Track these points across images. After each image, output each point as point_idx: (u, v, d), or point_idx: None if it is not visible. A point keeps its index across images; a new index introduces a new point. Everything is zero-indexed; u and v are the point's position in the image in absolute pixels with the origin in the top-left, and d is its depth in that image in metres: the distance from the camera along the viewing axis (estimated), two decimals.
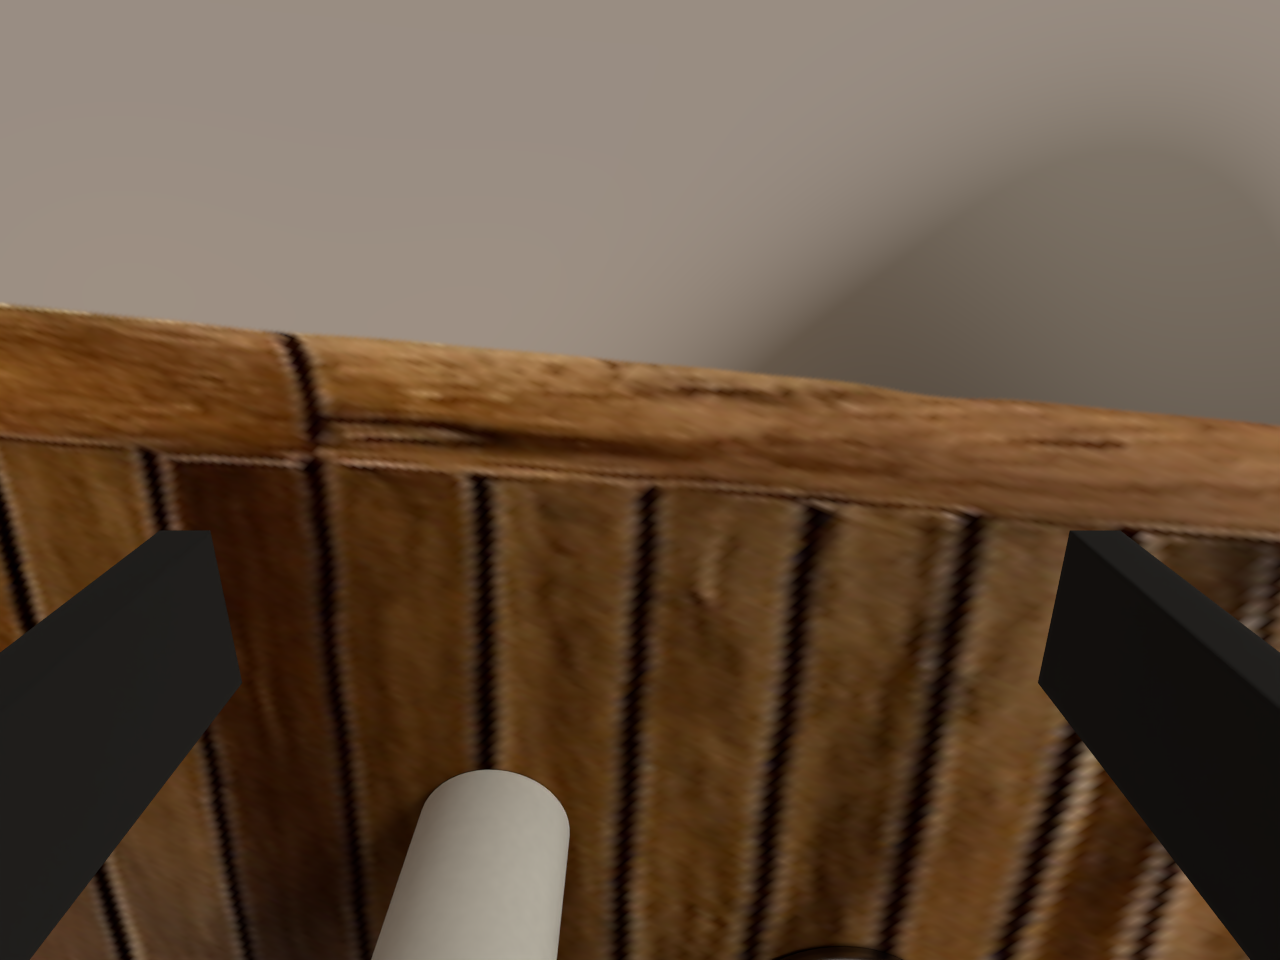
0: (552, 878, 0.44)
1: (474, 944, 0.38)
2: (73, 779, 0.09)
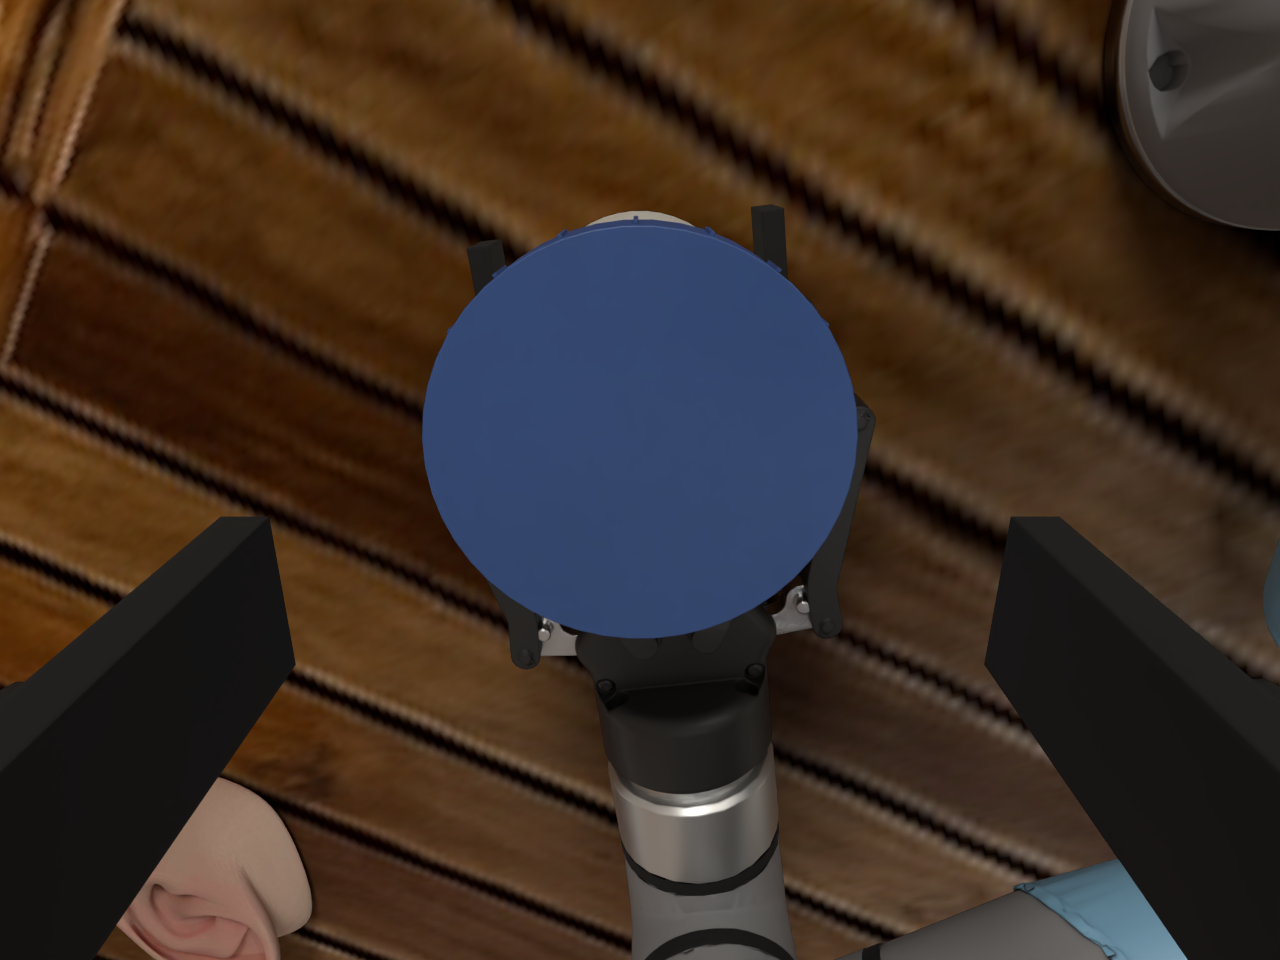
0: None
1: None
2: (157, 749, 0.10)
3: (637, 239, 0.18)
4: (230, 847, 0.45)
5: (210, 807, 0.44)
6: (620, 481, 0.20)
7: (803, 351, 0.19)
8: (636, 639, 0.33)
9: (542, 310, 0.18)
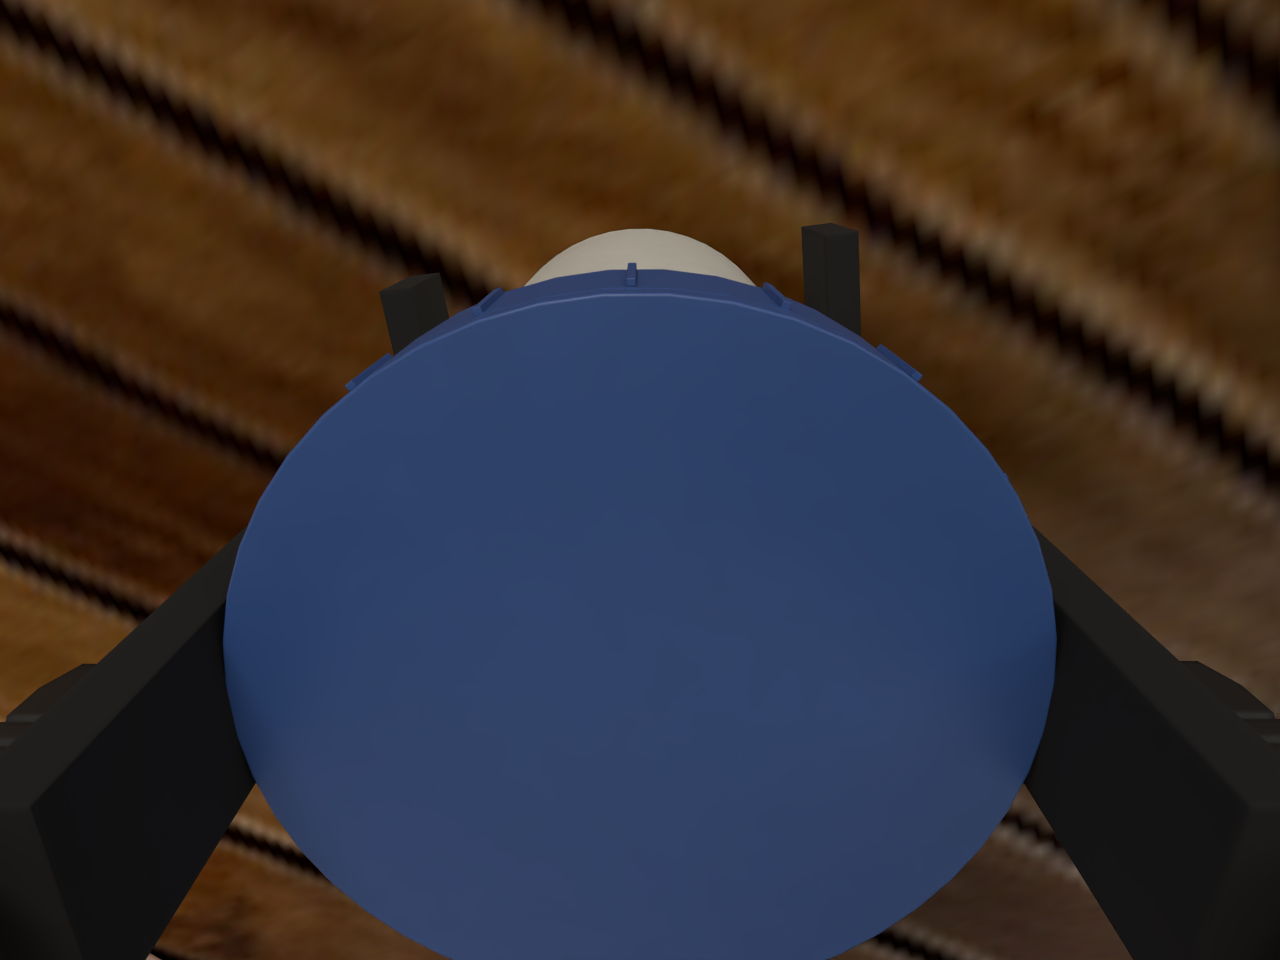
0: (647, 245, 0.20)
1: None
2: (219, 728, 0.10)
3: (634, 321, 0.09)
4: None
5: None
6: (603, 758, 0.11)
7: (963, 535, 0.09)
8: None
9: (443, 458, 0.09)
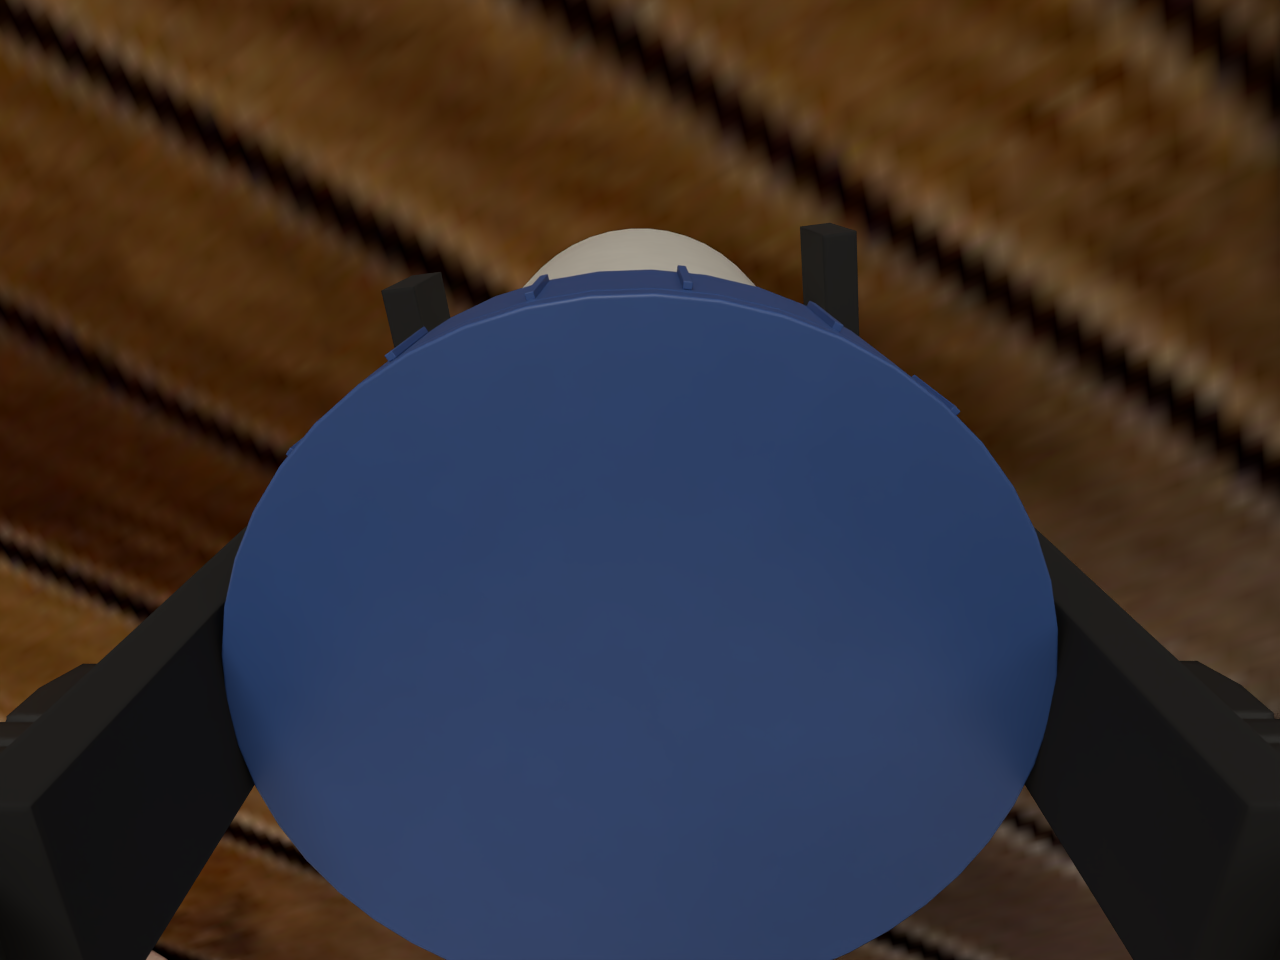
0: (647, 245, 0.20)
1: None
2: (219, 728, 0.10)
3: (252, 593, 0.10)
4: None
5: None
6: (681, 757, 0.11)
7: (551, 373, 0.09)
8: None
9: (337, 765, 0.11)
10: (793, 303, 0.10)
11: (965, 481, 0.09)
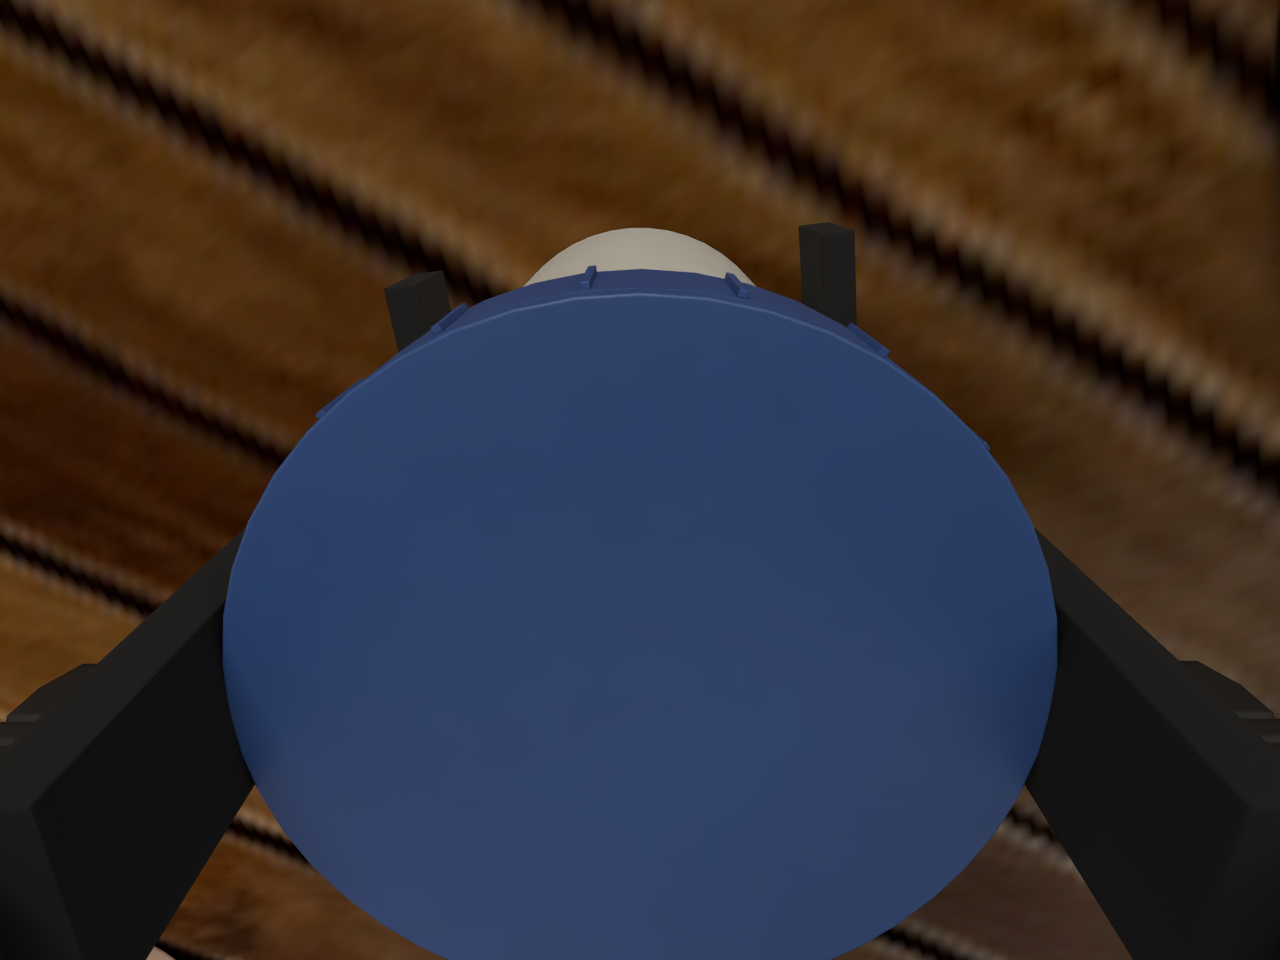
0: (648, 244, 0.20)
1: None
2: (220, 728, 0.10)
3: (413, 925, 0.12)
4: None
5: None
6: (708, 694, 0.10)
7: (281, 666, 0.10)
8: None
9: (597, 940, 0.12)
10: None
11: (488, 357, 0.09)
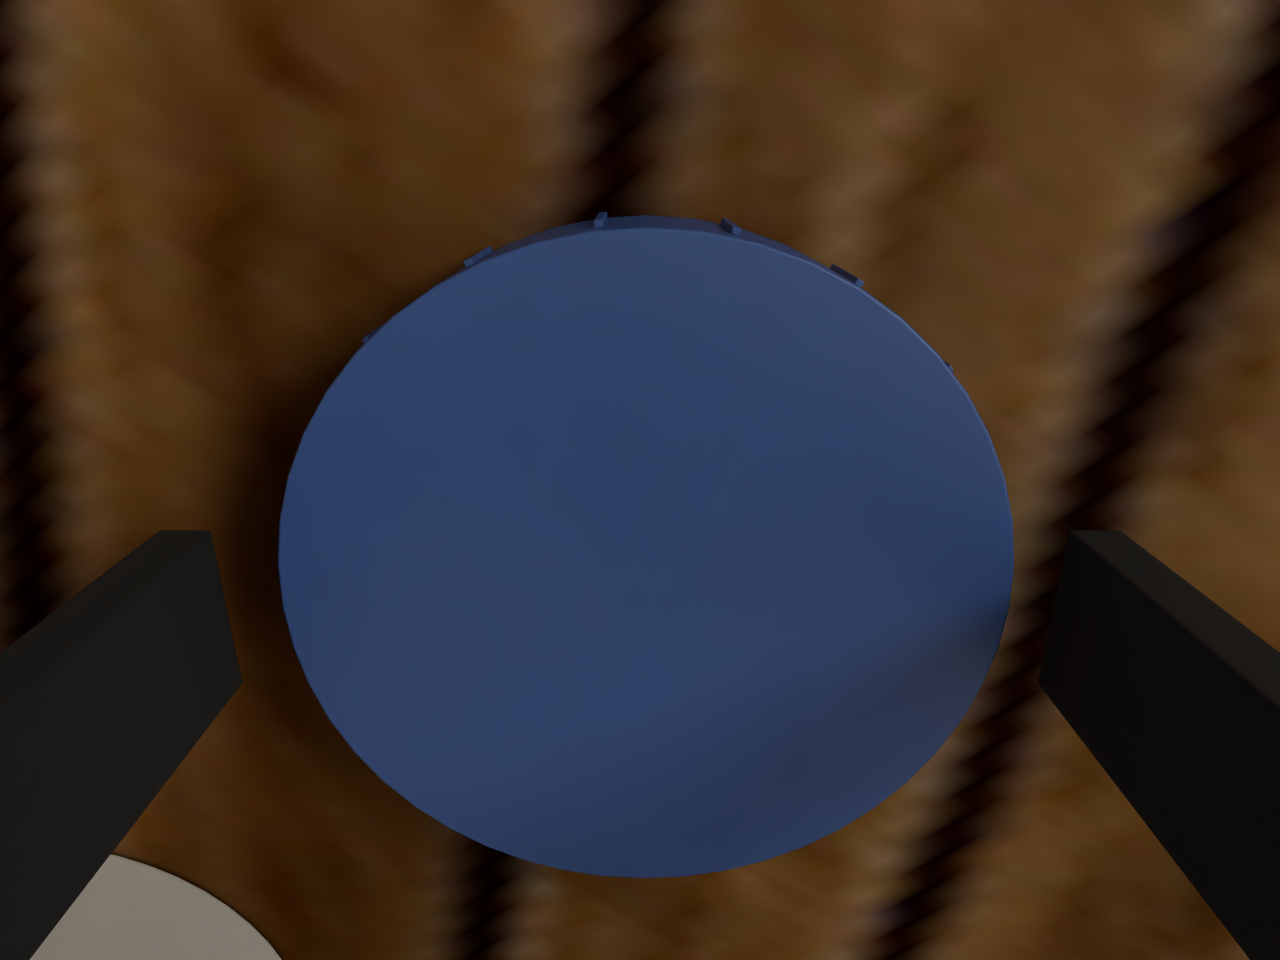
0: None
1: None
2: (73, 779, 0.09)
3: (443, 807, 0.13)
4: None
5: None
6: (706, 591, 0.12)
7: (330, 565, 0.11)
8: None
9: (606, 822, 0.13)
10: None
11: (514, 284, 0.10)
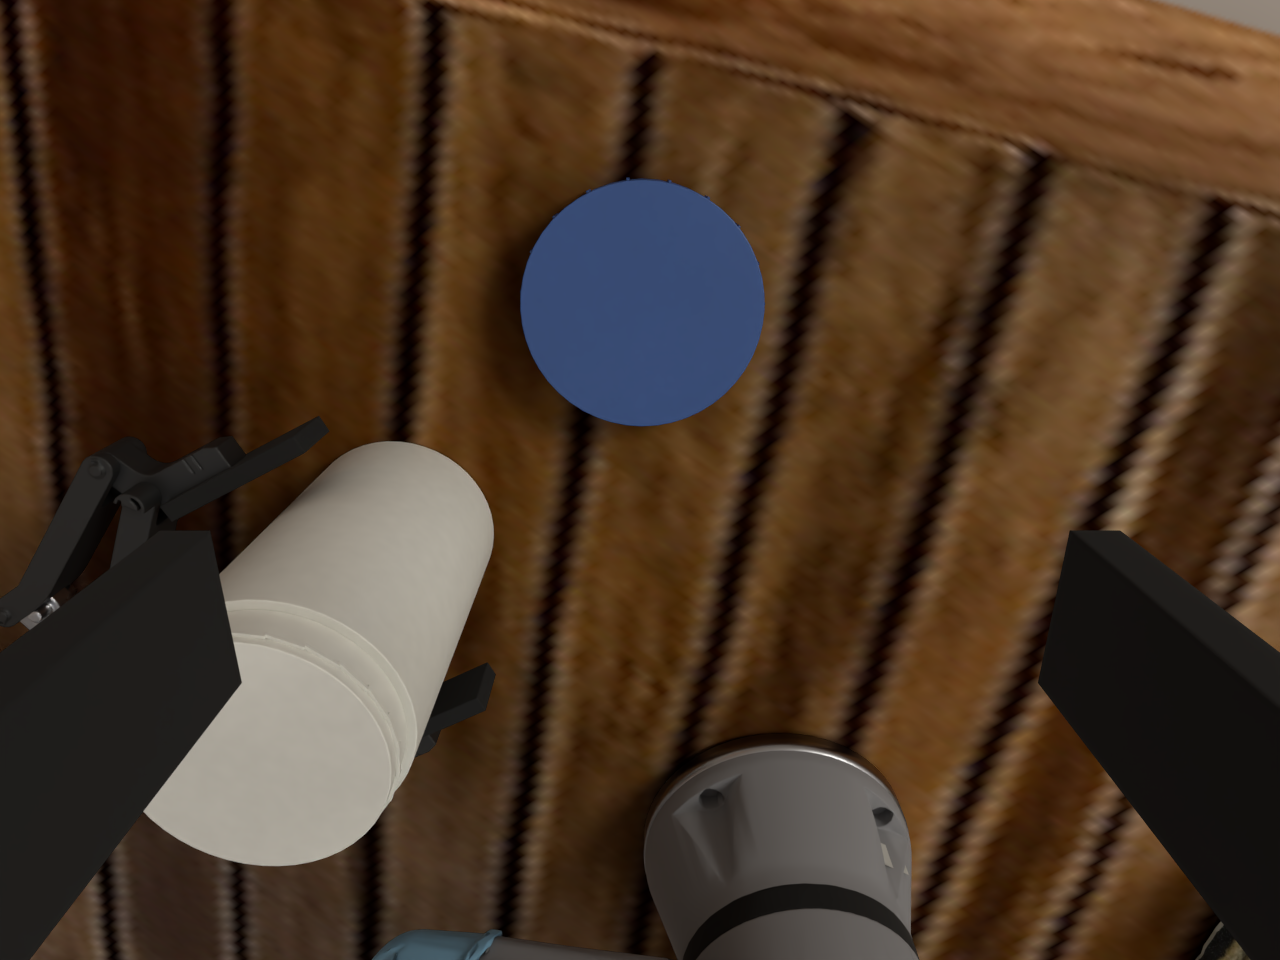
0: (464, 552, 0.35)
1: (351, 557, 0.29)
2: (73, 779, 0.09)
3: (569, 393, 0.36)
4: None
5: None
6: (662, 304, 0.35)
7: (538, 293, 0.35)
8: None
9: (628, 400, 0.36)
10: None
11: (602, 197, 0.33)
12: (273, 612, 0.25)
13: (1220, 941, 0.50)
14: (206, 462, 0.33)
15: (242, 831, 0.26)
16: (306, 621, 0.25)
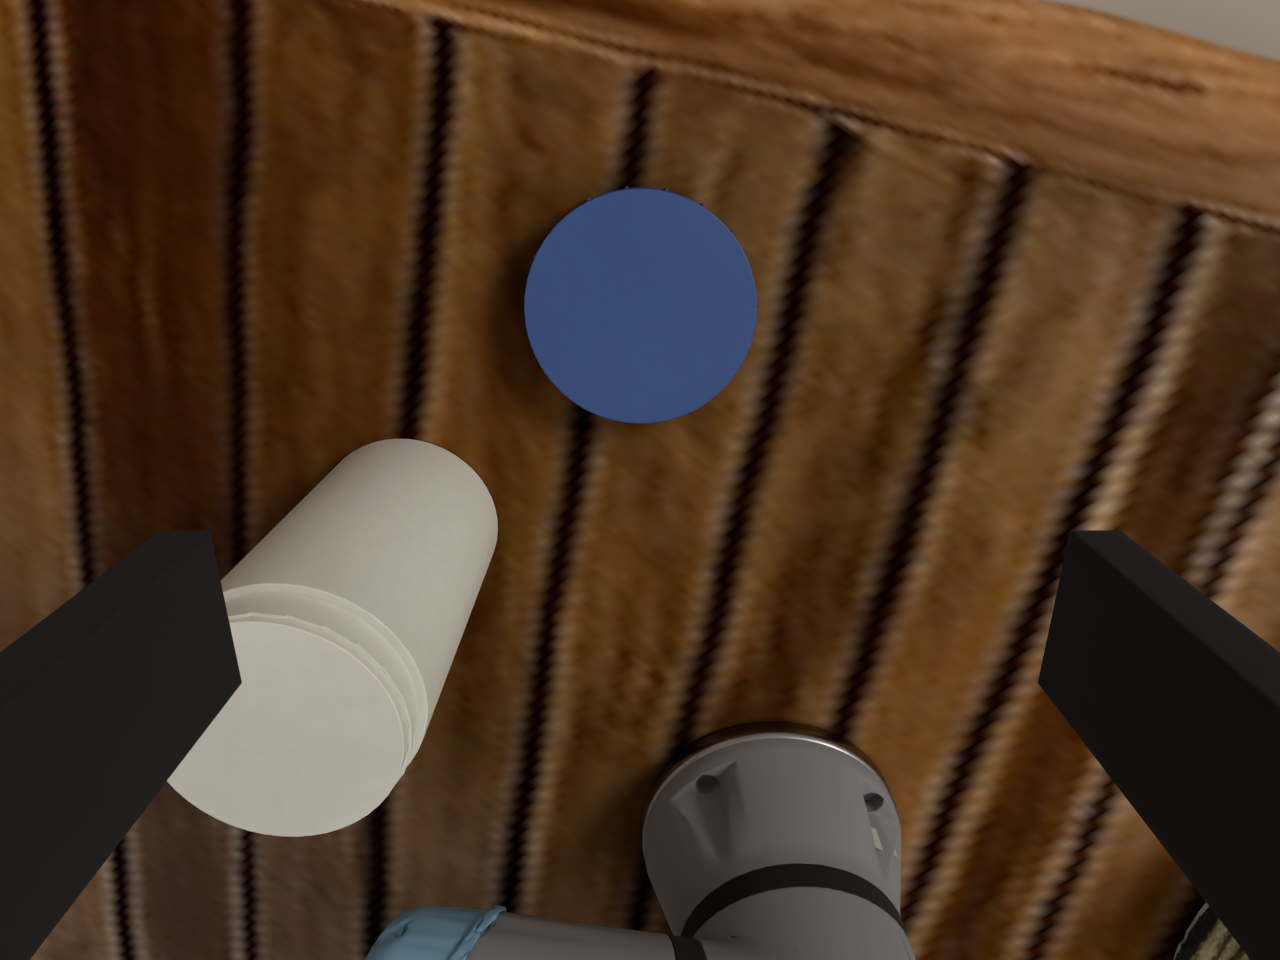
0: (470, 543, 0.37)
1: (364, 546, 0.30)
2: (73, 779, 0.09)
3: (570, 392, 0.38)
4: None
5: None
6: (659, 306, 0.36)
7: (541, 296, 0.36)
8: None
9: (627, 398, 0.38)
10: None
11: (602, 205, 0.35)
12: (294, 595, 0.27)
13: (1202, 925, 0.52)
14: None
15: (262, 803, 0.28)
16: (324, 604, 0.27)
